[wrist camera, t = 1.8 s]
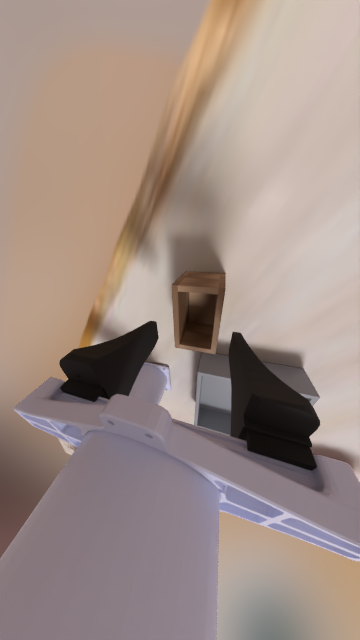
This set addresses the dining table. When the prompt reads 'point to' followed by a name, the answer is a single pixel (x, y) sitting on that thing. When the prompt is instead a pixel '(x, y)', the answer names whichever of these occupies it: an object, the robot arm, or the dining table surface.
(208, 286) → the walnut crate
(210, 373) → the grey crate
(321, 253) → the dining table surface
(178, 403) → the dining table surface
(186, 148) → the dining table surface
